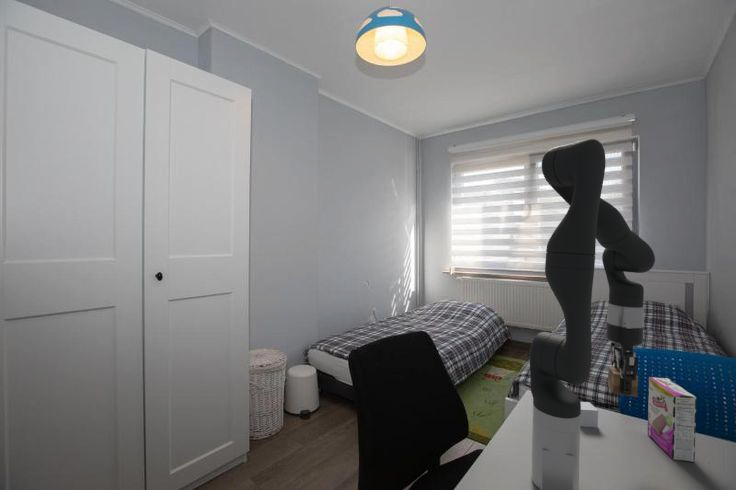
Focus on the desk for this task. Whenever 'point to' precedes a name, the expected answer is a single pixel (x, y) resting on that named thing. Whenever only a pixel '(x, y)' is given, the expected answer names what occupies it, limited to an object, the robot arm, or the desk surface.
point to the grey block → (588, 415)
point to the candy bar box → (672, 418)
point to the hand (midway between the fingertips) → (622, 389)
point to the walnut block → (615, 382)
